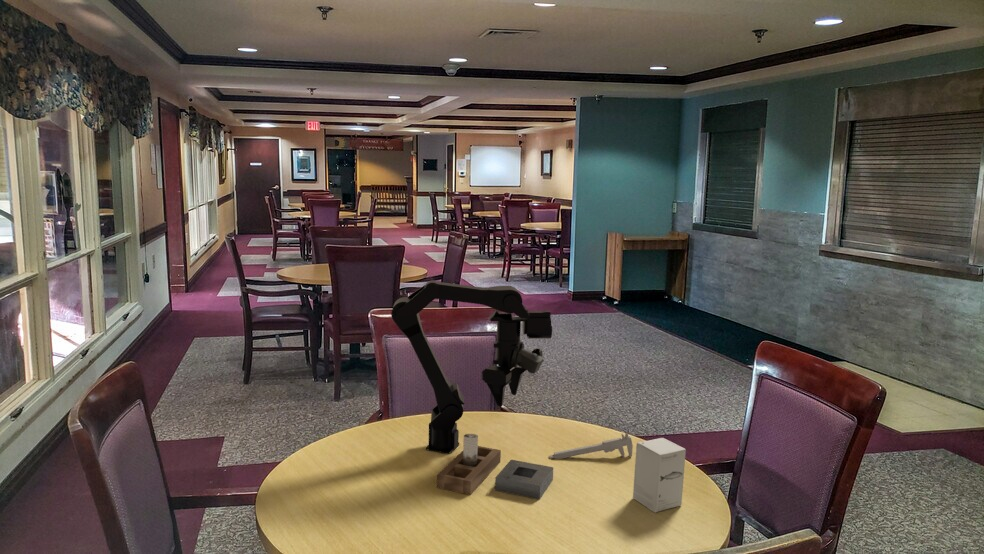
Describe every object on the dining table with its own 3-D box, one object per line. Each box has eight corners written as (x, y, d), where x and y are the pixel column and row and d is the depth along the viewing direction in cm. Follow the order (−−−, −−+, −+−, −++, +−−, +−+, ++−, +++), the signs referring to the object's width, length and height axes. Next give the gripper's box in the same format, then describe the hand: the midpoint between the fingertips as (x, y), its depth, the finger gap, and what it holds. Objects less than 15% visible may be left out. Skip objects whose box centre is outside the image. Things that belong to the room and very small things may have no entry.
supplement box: (655, 513, 139) (659, 454, 137) (631, 498, 145) (635, 441, 143) (682, 506, 142) (687, 448, 140) (658, 491, 149) (662, 436, 147)
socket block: (495, 490, 147) (495, 477, 146) (510, 471, 156) (511, 459, 156) (539, 499, 143) (540, 486, 143) (552, 479, 153) (553, 467, 152)
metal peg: (460, 475, 154) (461, 437, 152) (466, 470, 156) (467, 432, 155) (473, 478, 152) (474, 440, 151) (479, 472, 155) (480, 435, 154)
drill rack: (436, 487, 147) (436, 474, 147) (469, 456, 164) (469, 444, 164) (470, 494, 145) (471, 481, 144) (500, 462, 161) (500, 450, 161)
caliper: (630, 456, 167) (632, 432, 166) (632, 458, 166) (633, 433, 165) (548, 458, 165) (549, 433, 164) (549, 460, 164) (550, 435, 163)
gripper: (526, 351, 154) (524, 417, 156) (552, 334, 171) (550, 394, 173) (481, 345, 158) (480, 410, 161) (510, 329, 175) (509, 387, 178)
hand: (507, 400), depth 168 cm, fingers open, 9 cm apart
